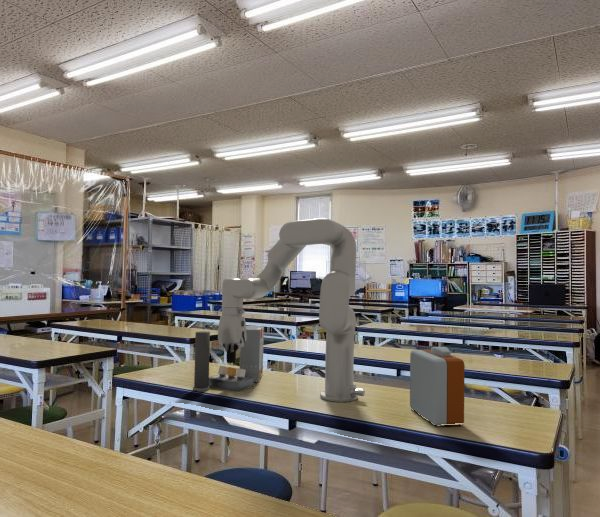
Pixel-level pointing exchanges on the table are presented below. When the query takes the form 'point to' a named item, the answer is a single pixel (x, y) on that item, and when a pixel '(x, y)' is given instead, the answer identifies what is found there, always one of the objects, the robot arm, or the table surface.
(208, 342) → the dark grey tall block
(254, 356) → the hard drive box
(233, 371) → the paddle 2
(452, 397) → the grey and brown block
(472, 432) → the table surface
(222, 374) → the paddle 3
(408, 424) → the table surface
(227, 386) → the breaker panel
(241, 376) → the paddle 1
